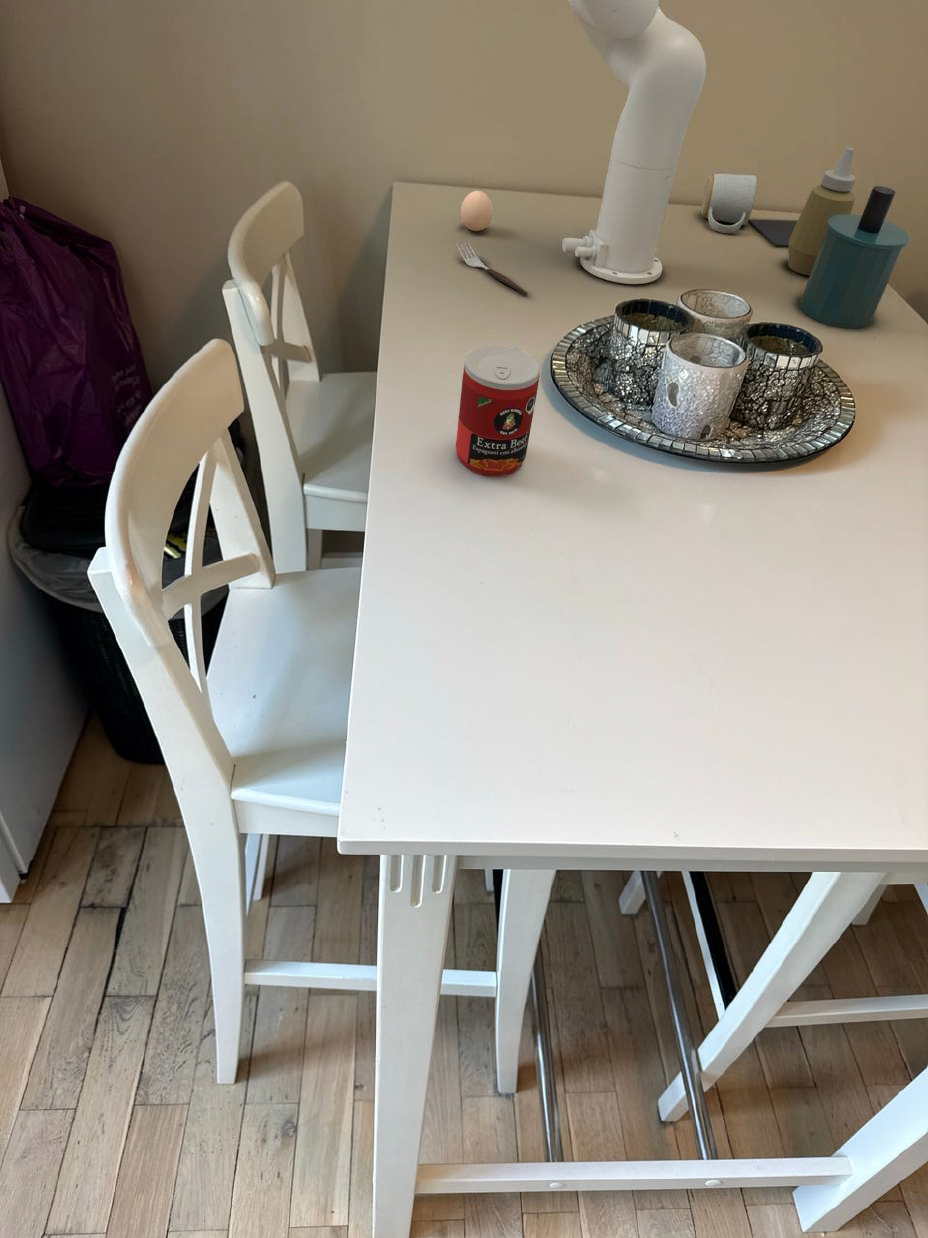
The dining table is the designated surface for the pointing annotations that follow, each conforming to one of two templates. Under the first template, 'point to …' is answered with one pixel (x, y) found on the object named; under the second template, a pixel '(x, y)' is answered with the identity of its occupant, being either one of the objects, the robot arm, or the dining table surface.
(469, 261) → the fork
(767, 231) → the mat
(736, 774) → the dining table surface
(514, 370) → the canned food
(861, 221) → the tin lid
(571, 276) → the dining table surface
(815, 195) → the squeeze bottle
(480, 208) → the egg
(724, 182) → the ceramic mug
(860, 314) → the tin
